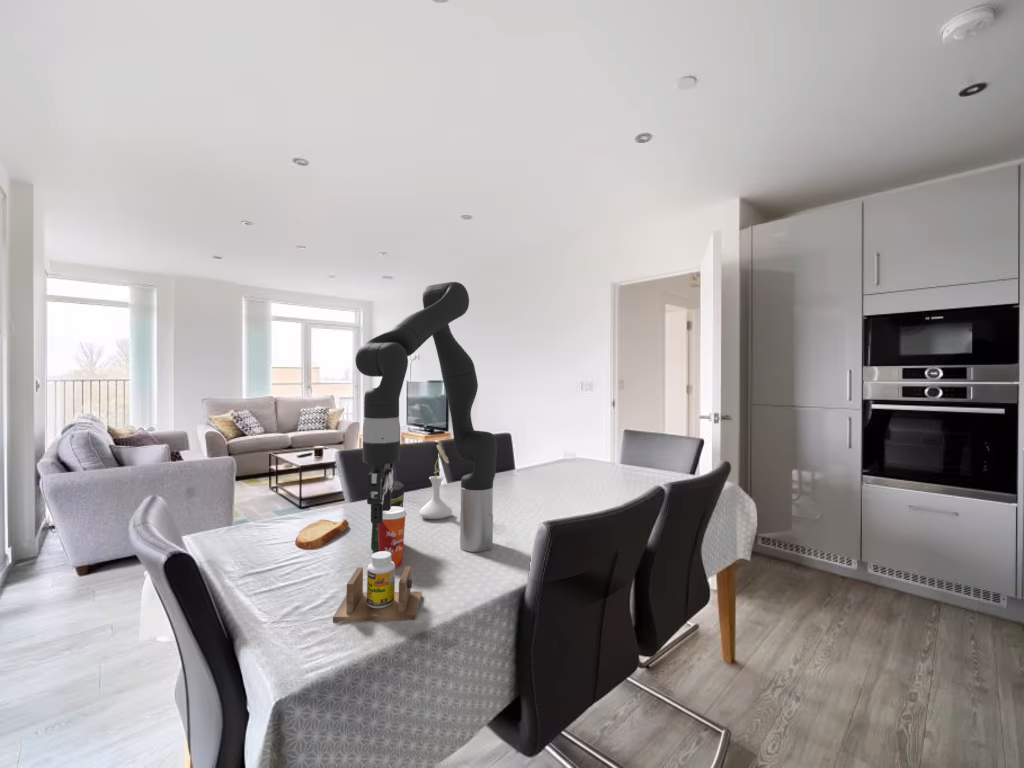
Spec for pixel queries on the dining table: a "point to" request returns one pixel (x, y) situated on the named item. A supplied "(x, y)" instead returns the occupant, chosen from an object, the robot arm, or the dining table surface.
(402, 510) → the paper cup
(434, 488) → the flower in vase
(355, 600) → the holder
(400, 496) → the coffee jar
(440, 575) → the dining table surface
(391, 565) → the supplement bottle
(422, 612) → the dining table surface
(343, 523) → the slice of bread
